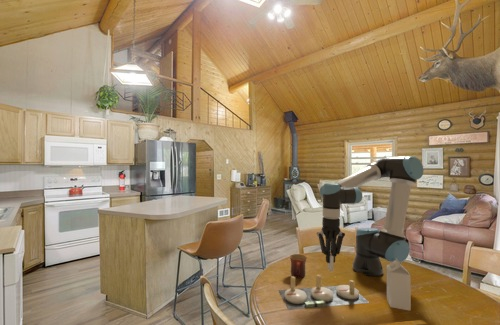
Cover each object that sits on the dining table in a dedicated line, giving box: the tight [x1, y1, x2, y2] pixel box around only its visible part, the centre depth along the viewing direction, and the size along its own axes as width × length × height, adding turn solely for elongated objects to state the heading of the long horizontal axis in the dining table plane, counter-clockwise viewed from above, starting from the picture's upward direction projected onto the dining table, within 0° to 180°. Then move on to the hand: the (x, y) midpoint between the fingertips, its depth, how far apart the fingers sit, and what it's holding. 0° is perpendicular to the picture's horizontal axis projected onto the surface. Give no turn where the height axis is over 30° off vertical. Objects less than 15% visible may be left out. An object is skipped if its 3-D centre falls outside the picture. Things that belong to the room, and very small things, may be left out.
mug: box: [289, 253, 307, 279], centre depth 124 cm, size 12×9×10 cm
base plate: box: [278, 284, 370, 311], centre depth 104 cm, size 35×15×2 cm, turn 99°
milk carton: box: [386, 258, 412, 312], centre depth 99 cm, size 7×7×19 cm
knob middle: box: [311, 274, 333, 302], centre depth 104 cm, size 9×9×7 cm
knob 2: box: [336, 279, 360, 299], centre depth 106 cm, size 9×9×7 cm
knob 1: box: [285, 275, 307, 304], centre depth 102 cm, size 9×9×7 cm
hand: (330, 269), depth 109 cm, fingers closed
